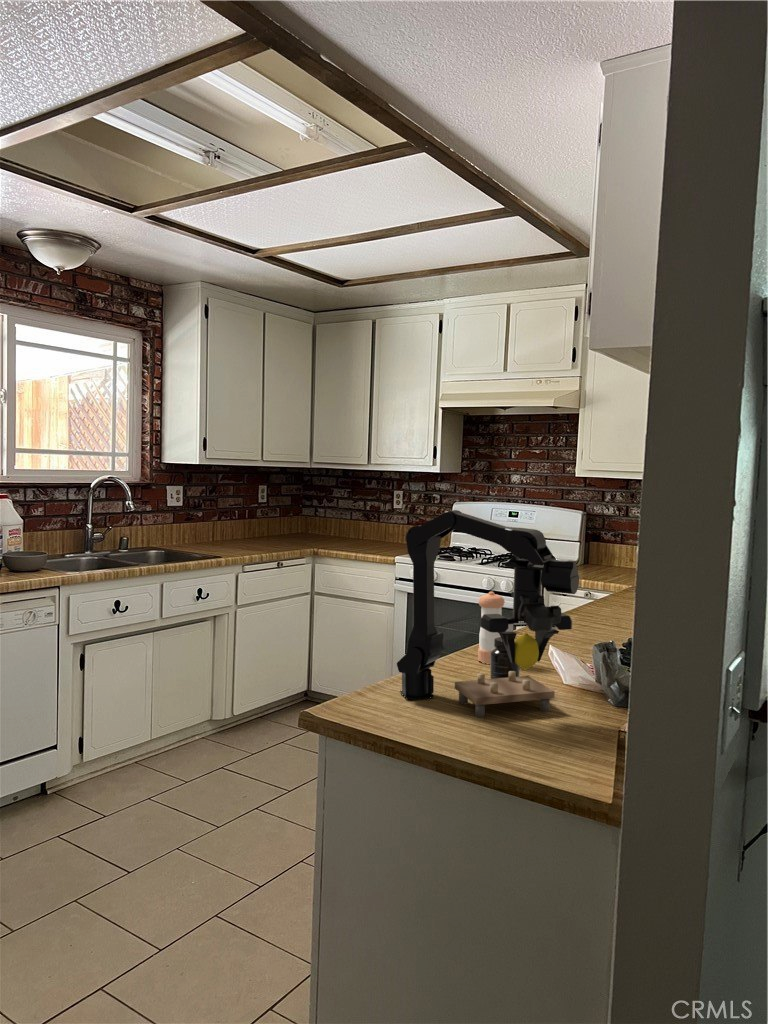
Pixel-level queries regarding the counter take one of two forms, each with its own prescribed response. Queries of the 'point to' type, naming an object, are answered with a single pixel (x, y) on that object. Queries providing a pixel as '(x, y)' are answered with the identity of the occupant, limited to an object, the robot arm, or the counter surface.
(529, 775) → the counter surface
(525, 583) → the robot arm
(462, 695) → the peg shelf
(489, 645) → the pepper shaker
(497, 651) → the supplement bottle
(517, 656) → the lemon
